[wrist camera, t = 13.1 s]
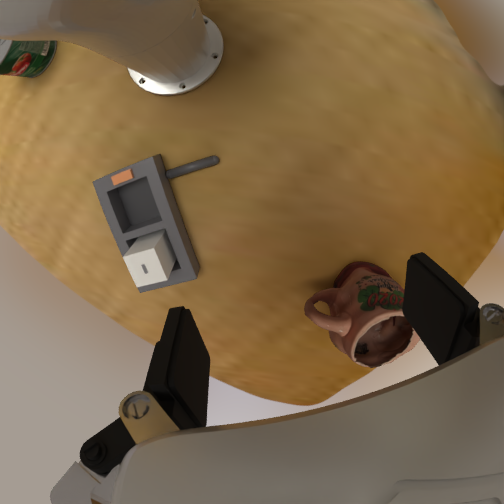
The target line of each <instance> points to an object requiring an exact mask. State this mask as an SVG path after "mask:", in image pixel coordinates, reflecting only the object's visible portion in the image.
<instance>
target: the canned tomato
mask: <svg viewBox="0 0 504 504" xmlns="http://www.w3.org/2000/svg"><path fill="white" fill-rule="evenodd" d="M56 46H57V42H56V41H14V40H4V39H0V75H11V76H22V77H29V78H33V77H36V76H38V75H40V74H41V73H42V72H43V71H44V70H45V69H46V68H47V67H48V66H49V64H50V63H51V61H52V59H53V57H54V54H55V51H56Z"/></svg>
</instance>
